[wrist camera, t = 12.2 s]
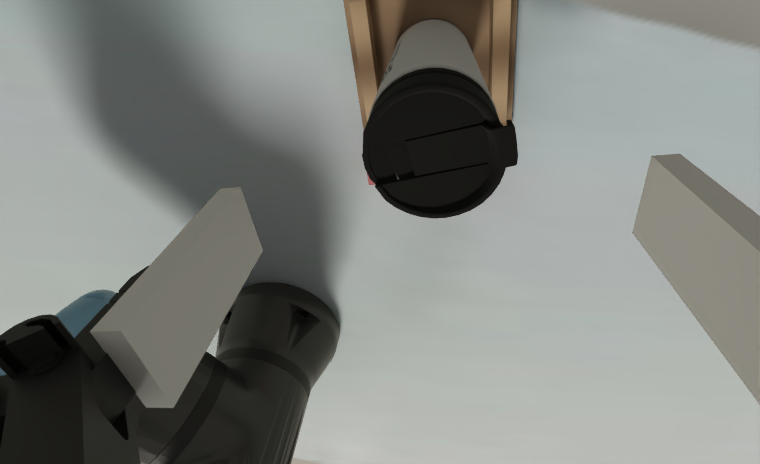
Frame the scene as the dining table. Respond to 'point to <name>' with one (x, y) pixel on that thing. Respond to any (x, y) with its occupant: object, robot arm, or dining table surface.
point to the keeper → (414, 3)
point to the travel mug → (435, 126)
